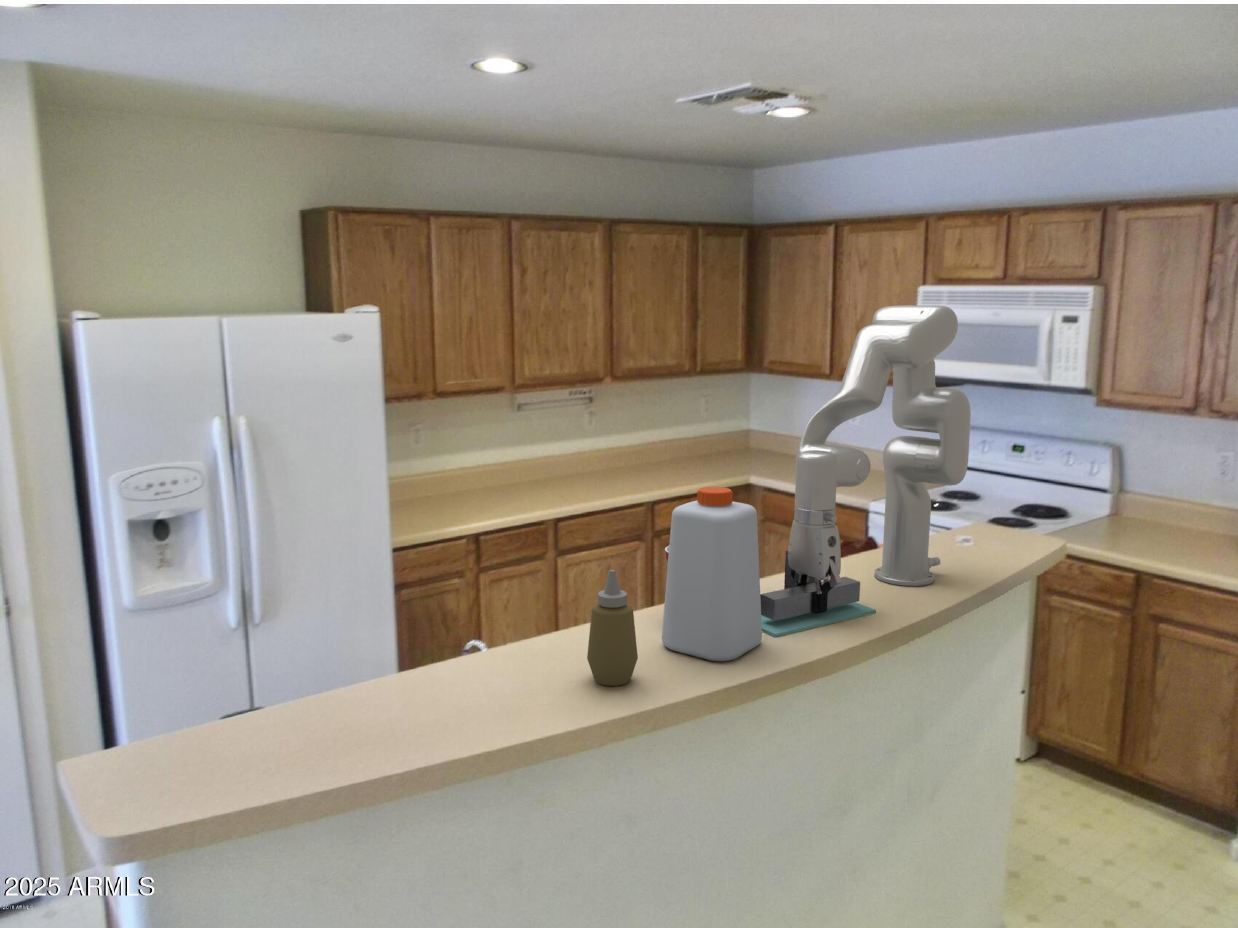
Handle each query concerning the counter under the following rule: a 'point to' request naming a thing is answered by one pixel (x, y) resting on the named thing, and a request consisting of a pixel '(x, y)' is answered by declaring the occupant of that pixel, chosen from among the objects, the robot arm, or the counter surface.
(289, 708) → the counter surface
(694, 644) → the plastic bottle
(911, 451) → the robot arm
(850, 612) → the mat
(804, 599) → the rail
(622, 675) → the squeeze bottle
